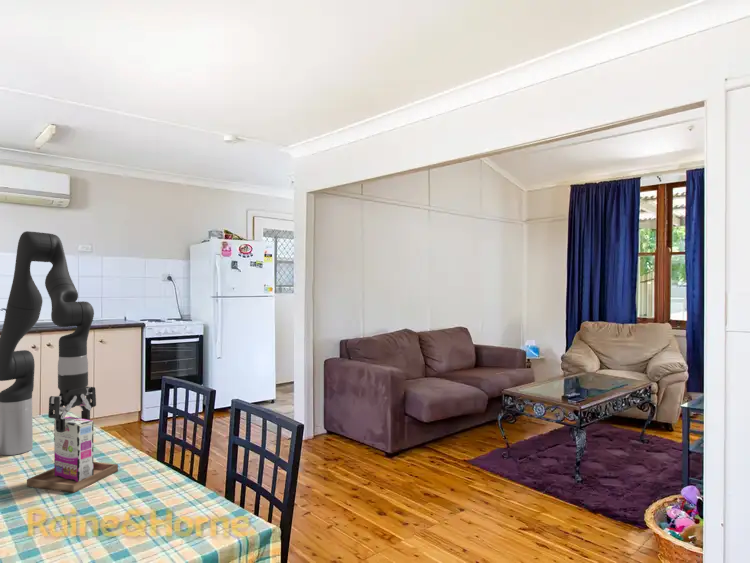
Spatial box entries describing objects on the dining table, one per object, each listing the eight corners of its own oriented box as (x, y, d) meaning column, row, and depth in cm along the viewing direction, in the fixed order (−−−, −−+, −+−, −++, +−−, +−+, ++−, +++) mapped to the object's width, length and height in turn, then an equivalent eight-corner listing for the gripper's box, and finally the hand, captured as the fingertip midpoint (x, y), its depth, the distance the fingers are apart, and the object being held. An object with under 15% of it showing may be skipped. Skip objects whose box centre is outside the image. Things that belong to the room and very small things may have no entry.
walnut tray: (26, 486, 144) (26, 479, 144) (74, 466, 159) (74, 459, 159) (73, 492, 139) (73, 485, 139) (117, 471, 155) (117, 464, 155)
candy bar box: (95, 476, 149) (94, 420, 149) (78, 483, 145) (77, 424, 144) (70, 470, 154) (69, 415, 154) (53, 476, 150) (52, 419, 149)
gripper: (82, 366, 157) (82, 419, 157) (40, 375, 143) (41, 433, 143) (103, 367, 155) (103, 421, 155) (62, 376, 141) (62, 436, 141)
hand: (73, 427), depth 149 cm, fingers open, 8 cm apart
